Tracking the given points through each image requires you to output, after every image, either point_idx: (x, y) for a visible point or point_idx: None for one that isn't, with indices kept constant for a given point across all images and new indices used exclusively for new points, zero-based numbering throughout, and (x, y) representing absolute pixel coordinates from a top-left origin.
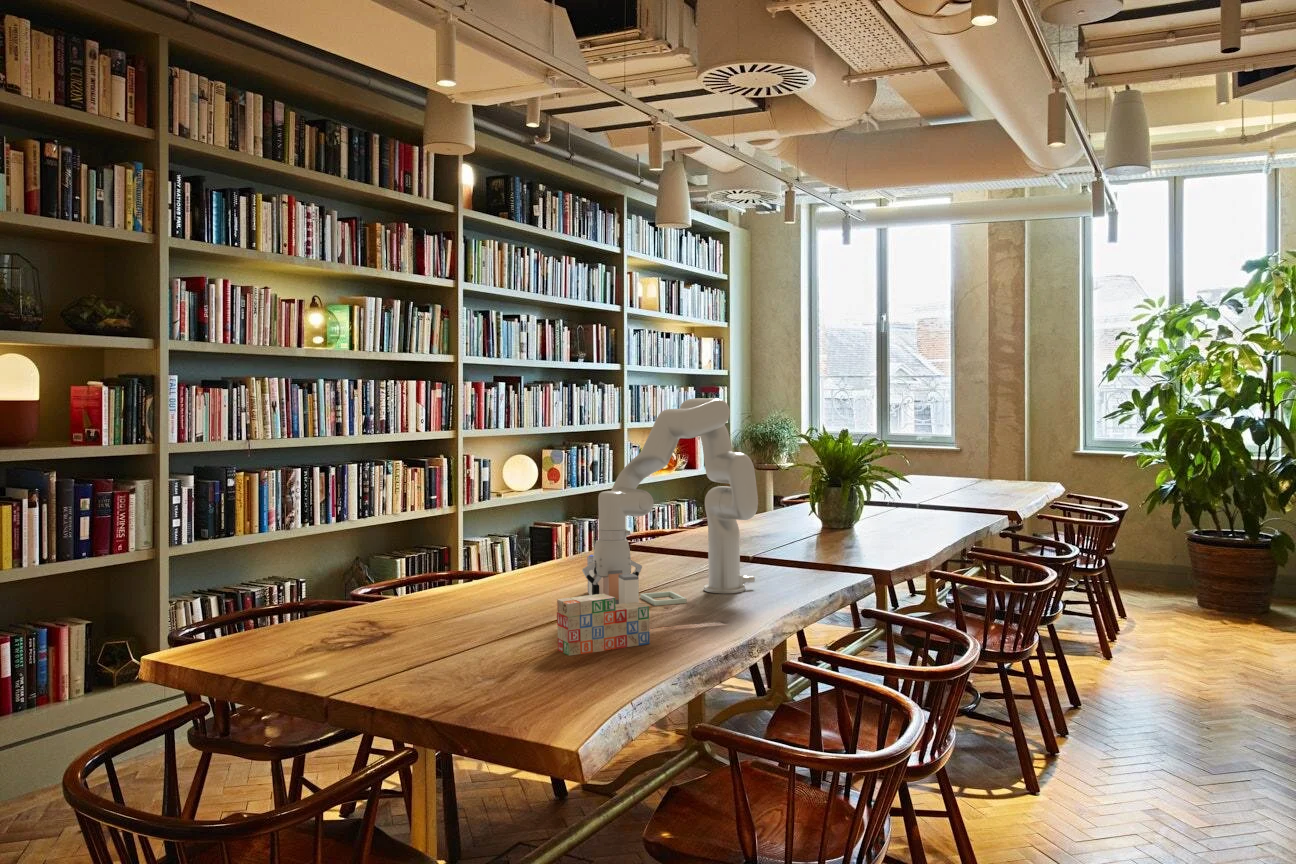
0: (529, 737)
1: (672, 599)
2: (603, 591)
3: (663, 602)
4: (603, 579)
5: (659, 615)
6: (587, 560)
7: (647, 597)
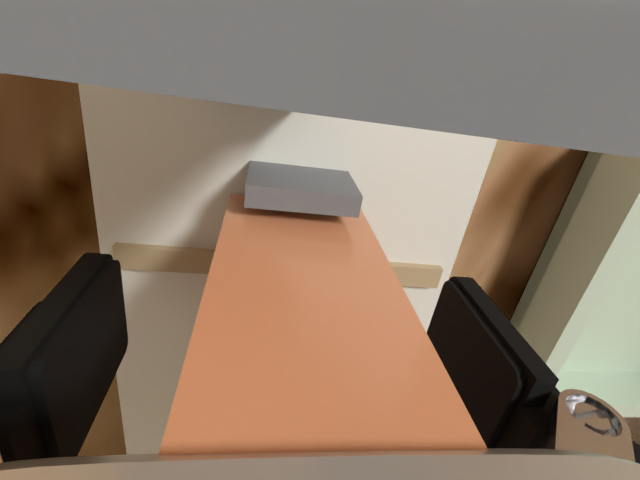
0: None
1: (628, 413)
2: (215, 254)
3: None
4: (184, 376)
5: None
6: None
7: (575, 309)
